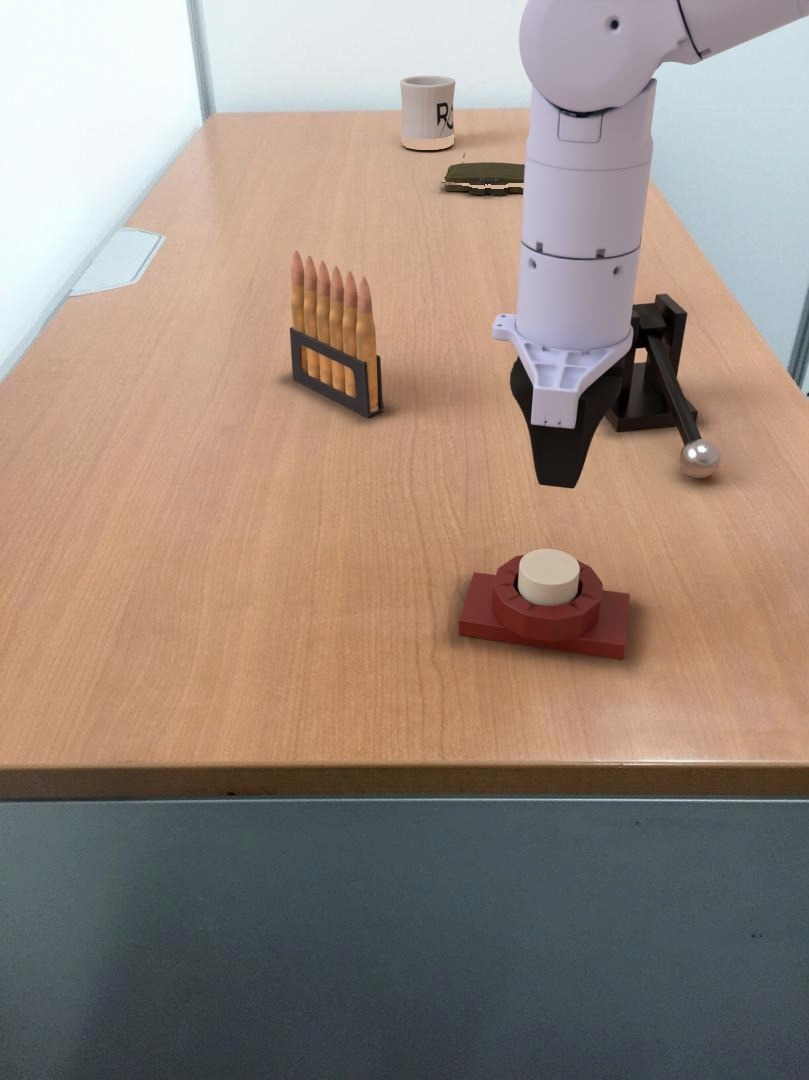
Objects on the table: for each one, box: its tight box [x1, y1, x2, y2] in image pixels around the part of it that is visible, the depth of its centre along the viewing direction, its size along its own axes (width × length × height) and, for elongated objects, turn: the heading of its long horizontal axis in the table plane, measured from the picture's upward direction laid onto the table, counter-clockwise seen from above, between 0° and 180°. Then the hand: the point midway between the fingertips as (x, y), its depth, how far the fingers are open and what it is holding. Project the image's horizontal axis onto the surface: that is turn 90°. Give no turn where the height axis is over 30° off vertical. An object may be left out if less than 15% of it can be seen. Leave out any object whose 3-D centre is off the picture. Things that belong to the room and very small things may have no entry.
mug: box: [399, 75, 456, 139], centre depth 157 cm, size 12×9×10 cm
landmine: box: [440, 152, 525, 197], centre depth 140 cm, size 14×3×15 cm
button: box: [518, 548, 580, 607], centre depth 58 cm, size 4×4×2 cm
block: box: [458, 553, 631, 661], centre depth 59 cm, size 10×6×3 cm, turn 76°
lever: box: [632, 302, 722, 479], centre depth 76 cm, size 17×3×3 cm, turn 10°
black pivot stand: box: [604, 293, 699, 433], centre depth 81 cm, size 10×7×9 cm
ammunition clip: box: [289, 250, 384, 419], centre depth 82 cm, size 11×2×12 cm, turn 43°
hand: (557, 480), depth 54 cm, fingers closed
